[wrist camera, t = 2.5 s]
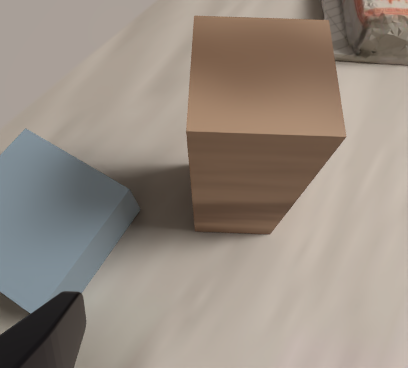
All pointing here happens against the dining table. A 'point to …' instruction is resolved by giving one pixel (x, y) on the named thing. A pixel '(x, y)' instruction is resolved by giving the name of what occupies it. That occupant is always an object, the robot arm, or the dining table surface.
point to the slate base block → (55, 221)
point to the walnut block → (258, 118)
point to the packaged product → (368, 30)
